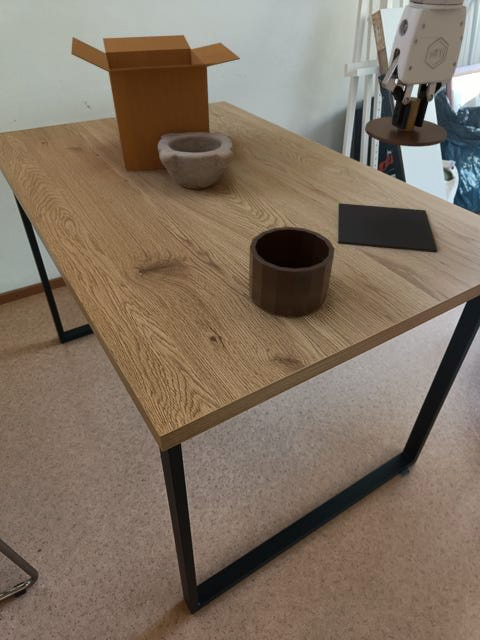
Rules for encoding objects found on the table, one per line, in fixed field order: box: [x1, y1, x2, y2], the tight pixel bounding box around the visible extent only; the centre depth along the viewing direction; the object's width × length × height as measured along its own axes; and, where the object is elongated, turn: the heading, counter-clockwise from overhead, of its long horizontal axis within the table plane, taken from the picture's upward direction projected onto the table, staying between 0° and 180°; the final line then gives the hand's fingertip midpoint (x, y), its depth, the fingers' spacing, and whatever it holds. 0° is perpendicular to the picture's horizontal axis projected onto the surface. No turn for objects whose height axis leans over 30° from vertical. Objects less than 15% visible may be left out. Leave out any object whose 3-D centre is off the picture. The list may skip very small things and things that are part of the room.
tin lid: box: [364, 96, 448, 148], centre depth 77 cm, size 14×14×6 cm
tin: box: [248, 226, 335, 318], centre depth 71 cm, size 13×13×8 cm
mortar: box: [158, 131, 235, 190], centre depth 104 cm, size 17×17×9 cm
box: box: [70, 34, 241, 172], centre depth 112 cm, size 36×40×26 cm
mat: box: [337, 203, 438, 253], centre depth 90 cm, size 18×16×1 cm
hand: (406, 124), depth 77 cm, fingers closed on tin lid, 2 cm apart
